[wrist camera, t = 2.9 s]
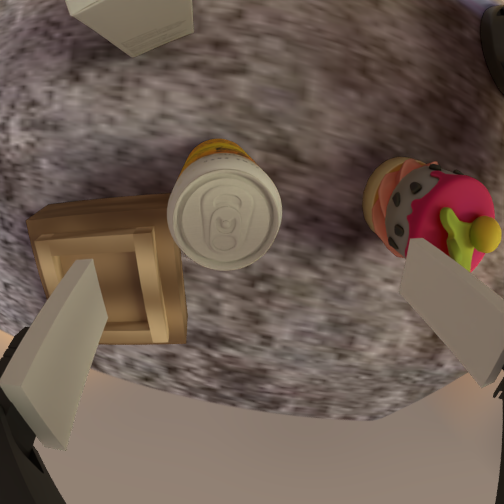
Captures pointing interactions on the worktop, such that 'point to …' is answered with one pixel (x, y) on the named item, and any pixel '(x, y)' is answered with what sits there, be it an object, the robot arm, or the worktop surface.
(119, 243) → the stand
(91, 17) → the skincare box
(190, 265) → the worktop surface
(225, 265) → the beer can
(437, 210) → the cake
